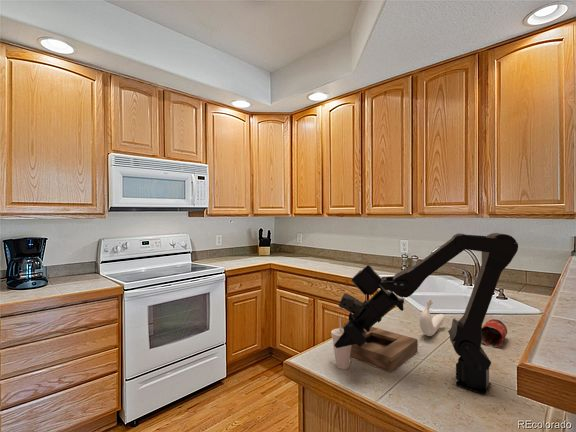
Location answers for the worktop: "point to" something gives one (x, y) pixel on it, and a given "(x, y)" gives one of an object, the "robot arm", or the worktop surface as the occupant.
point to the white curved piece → (430, 320)
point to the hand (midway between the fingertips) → (337, 342)
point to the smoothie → (341, 349)
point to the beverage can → (494, 332)
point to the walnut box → (385, 349)
